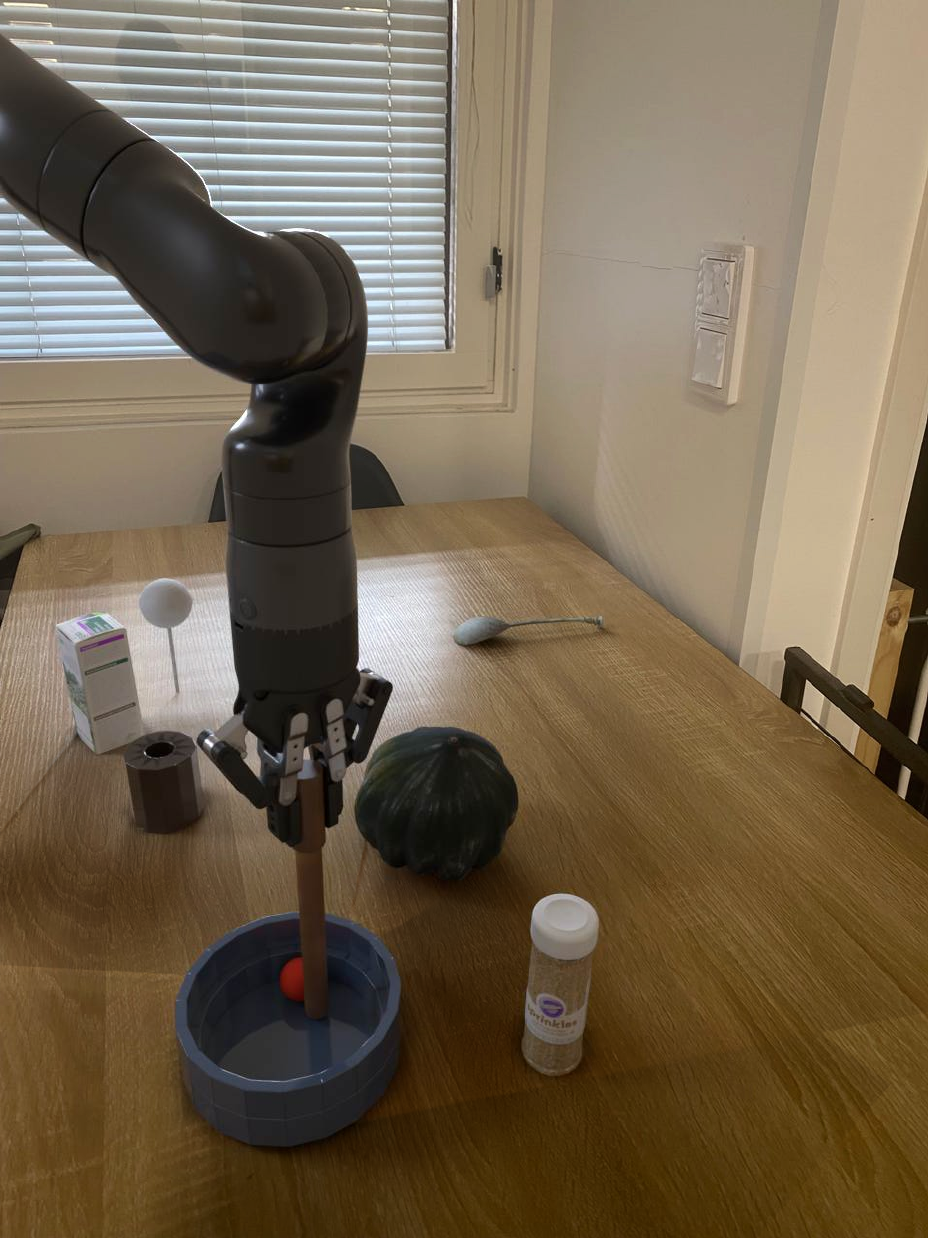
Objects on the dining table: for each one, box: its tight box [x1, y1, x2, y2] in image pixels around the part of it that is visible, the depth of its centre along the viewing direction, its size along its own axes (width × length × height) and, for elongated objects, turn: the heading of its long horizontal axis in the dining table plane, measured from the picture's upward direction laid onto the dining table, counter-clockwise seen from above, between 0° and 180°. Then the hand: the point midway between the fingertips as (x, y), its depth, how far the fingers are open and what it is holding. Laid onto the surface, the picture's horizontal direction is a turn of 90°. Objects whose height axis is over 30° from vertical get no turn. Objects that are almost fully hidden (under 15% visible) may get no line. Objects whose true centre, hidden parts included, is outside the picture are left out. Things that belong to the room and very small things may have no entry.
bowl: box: [174, 910, 403, 1148], centre depth 66 cm, size 16×16×6 cm
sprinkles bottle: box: [521, 893, 600, 1077], centre depth 64 cm, size 5×5×13 cm
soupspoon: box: [452, 615, 604, 646], centre depth 129 cm, size 22×3×7 cm
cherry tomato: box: [280, 957, 304, 1002], centre depth 70 cm, size 3×3×3 cm
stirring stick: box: [291, 758, 329, 1019], centre depth 64 cm, size 2×2×22 cm
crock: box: [122, 730, 205, 834], centre depth 89 cm, size 7×7×8 cm
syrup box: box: [54, 610, 145, 756], centre depth 100 cm, size 6×6×14 cm
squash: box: [353, 726, 520, 883], centre depth 84 cm, size 14×15×15 cm
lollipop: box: [138, 577, 194, 694], centre depth 109 cm, size 6×6×15 cm
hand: (306, 829), depth 61 cm, fingers closed on stirring stick, 2 cm apart
